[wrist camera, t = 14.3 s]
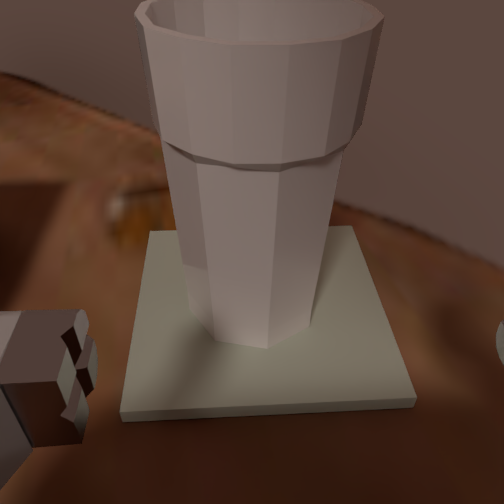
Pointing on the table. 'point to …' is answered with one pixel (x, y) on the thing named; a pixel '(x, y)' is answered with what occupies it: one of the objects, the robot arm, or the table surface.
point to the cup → (255, 146)
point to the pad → (260, 359)
